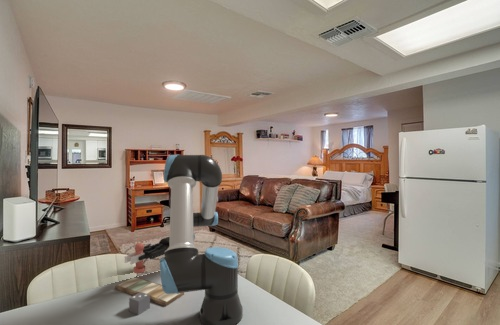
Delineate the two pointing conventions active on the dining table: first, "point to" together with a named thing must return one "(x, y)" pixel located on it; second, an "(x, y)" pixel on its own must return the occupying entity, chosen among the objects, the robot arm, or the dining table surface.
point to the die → (139, 303)
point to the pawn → (139, 265)
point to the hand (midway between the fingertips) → (128, 260)
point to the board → (148, 290)
